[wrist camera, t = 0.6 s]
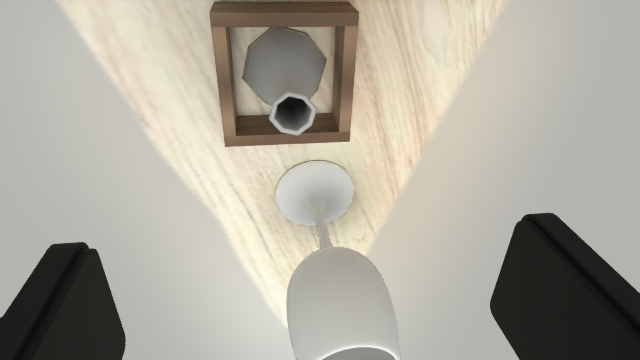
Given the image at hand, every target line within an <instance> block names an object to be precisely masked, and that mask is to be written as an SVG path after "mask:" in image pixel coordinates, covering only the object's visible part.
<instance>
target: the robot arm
mask: <svg viewBox="0 0 640 360" xmlns="http://www.w3.org/2000/svg"><path fill="white" fill-rule="evenodd" d="M490 309H491V313H492V315H493V317H494V319H495V320H496V322H497V324H498V325H499V327H500V329H501V330H502V332H503V333H504V335H505V337H506V338H507V340H508V341H509V343H510V345H511V346H512V348H513V349H514V351H515V353H516V354H517V356H518V358H519V359H520V360H640V293H639V292H637V290H636V289H635V288H633V287H632V286H631V285H630V284H629V283H628V282H627V281H626V280H625V279H624V278H623V277H622V276H621V275H620V274H618V273H617V272H616V271H615V270H614V269H613V268H612V267H611V266H610V265H609V264H608V263H607V262H606V261H605V260H603V259H602V258H601V257H600V256H599V255H598V254H597V253H596V252H595V251H594V250H593V249H592V248H591V247H590V246H589V245H587V244H586V243H585V242H584V241H583V240H582V239H581V238H580V237H579V236H578V235H577V234H576V233H575V232H573V230H571V229H570V228H569V227H568V226H567V225H566V224H565V223H564V222H563V221H561V219H560V218H559V217H557V216H556V215H554V214H553V213H539V214H528V215H525V216H524V217H523V218H522V220H521V221H519V222H518V223H517V224H516V226H515V228H514V232H513V235H512V237H511V240H510V244H509V246H508V250H507V253H506V255H505V259H504V262H503V265H502V268H501V271H500V274H499V277H498V280H497V283H496V286H495V289H494V292H493V295H492V298H491V301H490ZM125 341H126V340H125V333H124V330H123V327H122V324H121V321H120V318H119V315H118V312H117V309H116V306H115V303H114V300H113V297H112V294H111V290H110V288H109V285H108V281H107V279H106V275H105V272H104V269H103V266H102V263H101V260H100V258H99V254H98V252H97V250H96V249H89V247H88V245H87V244H86V243H84V242H77V243H62V244H53V245H51V246H50V247H49V248H48V249H47V251H46V253H45V254H44V256H43V257H42V259H41V260H40V262H39V263H38V265H37V266H36V268H35V269H34V271H33V272H32V274H31V275H30V277H29V278H28V280H27V281H26V283H25V284H24V286H23V287H22V289H21V290H20V292H19V293H18V295H17V296H16V298H15V299H14V301H13V302H12V304H11V305H10V307H9V308H8V310H7V311H6V313H5V314H4V316H3V317H1V318H0V360H122V357H123V354H124V350H125Z"/></svg>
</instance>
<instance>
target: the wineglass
mask: <svg viewBox="0 0 640 360" xmlns="http://www.w3.org/2000/svg"><path fill="white" fill-rule="evenodd" d="M353 197H354V184H353V181H352V179H351V177H350V175H349V174H348V173H347V172H346V171H345V170H344V169H343V168H341V167H340V166H338V165H336V164H334V163H331V162H326V161H309V162H305V163H302V164H299V165H297V166H295V167H293V168H292V169H290V170H289V171H288V172H286V173H285V174H284V175H283V177H282V178H281V179H280V181H279V183H278V185H277V187H276V191H275V202H276V205H277V208H278V210H279V211H280V213H281V214H282V215H283V216H284V217H285V218H287V219H288V220H290V221H291V222H293V223H296V224H299V225H303V226H317V230H318V235H319V241H320V250H317V251H315V252H313V253H312V254H310V255H309V256H308V257H306V258H305V259H304V260H303V261H302V262H301V263H300V264H299V265H298V267H297V268H296V269H295V271H294V273H293V275H292V277H291V279H290V282H289V286H288V290H287V322H288V329H289V335H290V339H291V344H292V348H293V351H294V355H295V358H296V360H401V358H400V345H399V335H398V328H397V322H396V316H395V312H394V307H393V304H392V301H391V298H390V294H389V292H388V289H387V287H386V284H385V282H384V280H383V278H382V276H381V274H380V272H379V271H378V269H377V268H376V266H375V265H374V264H373V263H372V262H371V261H370V260H369V259H368V258H367V257H365V256H364V255H362V254H361V253H359V252H357V251H354V250H352V249H349V248H344V247H332V245H331V242H330V238H329V235H328V231H327V226H326V224H327V223H330V222H332V221H334V220H336V219H337V218H339V217H340V216H341V215H343V214H344V213H345V212H346V211H347V209H348V208H349V207H350V205H351V203H352V201H353Z"/></svg>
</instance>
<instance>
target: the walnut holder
mask: <svg viewBox="0 0 640 360" xmlns="http://www.w3.org/2000/svg"><path fill="white" fill-rule="evenodd" d="M358 17H359V12H358V11H357V10H356V9H355V8H354V7H353V6H352V5H351V4H350V3H349V2H214V3H213V6H212V8H211V11H210V21H211V29H212V38H213V46H214V55H215V64H216V72H217V81H218V89H219V98H220V106H221V115H222V123H223V132H224V141H225V147H231V146H255V145H279V144H303V143H327V142H349V141H350V127H351V113H352V100H353V86H354V72H355V59H356V45H357V31H358ZM326 26H336V35H335V58H334V80H333V103H332V113H325V114H315V117H314V120H313V123H312V126H310V127H309V128H308V129H306V130H305V131H304V132H302V133H301V134H300V135H298V136H297V135H292V134H287V133H282V132H280V131H279V130H278V129H277V128H276V127H275V126H274V124H273V123H272V122H271V121H270V120H269V116H270V115H264V116H237V106H236V95H235V85H234V74H233V63H232V53H231V42H230V32H229V27H326Z"/></svg>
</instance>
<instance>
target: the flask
mask: <svg viewBox="0 0 640 360" xmlns="http://www.w3.org/2000/svg"><path fill="white" fill-rule="evenodd" d="M325 64H326V58H325V57H324V56H323V54H322V53H321V52H320V50H319V49H318V48H317V46H316V45H315V44H314V42H313V41H312V40H311V38H310V37H309V36H308V34H306V33H302V32H298V31H295V30H291V29H287V28H284V27H271V28H270V29H269V30H268V31H267V32H265V33H264V34H263V35H262V36H261V37H259V38H258V39H257V40H256V41H255V42H253V43H252V44H251V45H250V46H249V47H248V52H247V57H246V62H245V67H244V72H243V77H242V79H243V80H244V81H245V82H246V83H247V84H248V85H249V86H250V87H251V89H252V90H253V91H254V92H255V93H256V94H257V95H258V96H259V97H260V98H261V99H262V101H263V102H265V103H267V104H269V105H271V106H272V108H271V112H270V116H269V120H270V121H271V122H272V123H273V124H274V126H275V127H276V128H277V129H278V130H279V131H280V132H282V133H287V134H292V135H297V136H298V135H300V134H301V133H302V132H304V131H305V130H306V129H308V128H309V127H310V126H312V123H313V120H314V117H315V114H316V110H317V108H316V107H315V105H314V104H313V103H312V102H311V101H310V98H311V97H312V96H313V95H314V94H315V93H316V91H317V90H318V87H319V84H320V80H321V77H322V74H323V70H324V67H325Z"/></svg>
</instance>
